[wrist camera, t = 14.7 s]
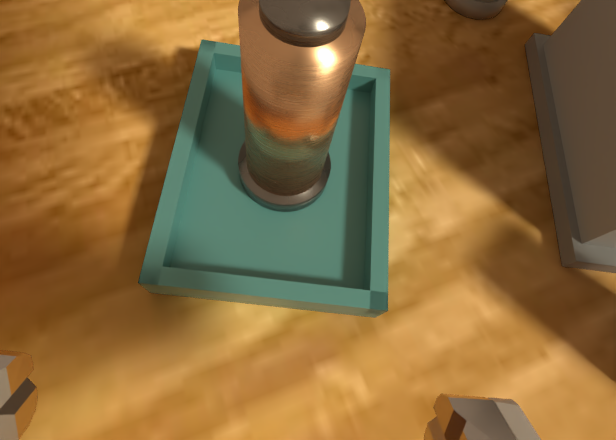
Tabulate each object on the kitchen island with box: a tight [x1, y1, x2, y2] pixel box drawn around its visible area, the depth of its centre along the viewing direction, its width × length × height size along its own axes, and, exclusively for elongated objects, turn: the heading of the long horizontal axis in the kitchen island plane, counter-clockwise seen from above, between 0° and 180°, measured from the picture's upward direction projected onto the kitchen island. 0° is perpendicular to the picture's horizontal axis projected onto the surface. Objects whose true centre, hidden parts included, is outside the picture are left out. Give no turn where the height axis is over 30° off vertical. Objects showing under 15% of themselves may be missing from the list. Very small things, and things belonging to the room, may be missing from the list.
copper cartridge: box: [238, 0, 366, 212], centre depth 16 cm, size 5×5×10 cm
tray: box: [138, 40, 390, 318], centre depth 20 cm, size 11×14×2 cm
